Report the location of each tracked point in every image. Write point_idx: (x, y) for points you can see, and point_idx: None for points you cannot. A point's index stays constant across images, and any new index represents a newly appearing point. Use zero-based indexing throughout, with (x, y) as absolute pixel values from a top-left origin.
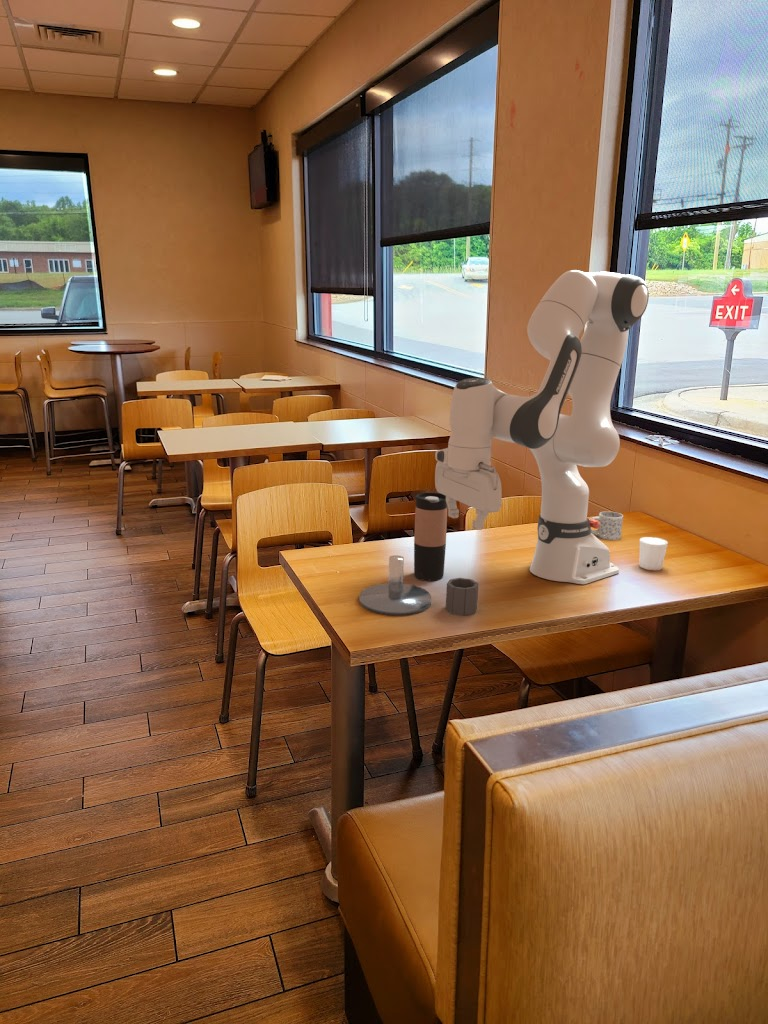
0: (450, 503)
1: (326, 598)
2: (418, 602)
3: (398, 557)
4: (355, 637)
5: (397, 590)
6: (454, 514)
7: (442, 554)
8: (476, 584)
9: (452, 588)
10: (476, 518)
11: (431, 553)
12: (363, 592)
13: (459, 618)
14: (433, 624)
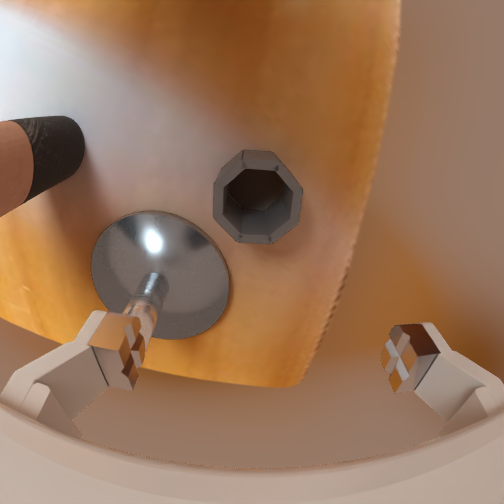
0: (74, 404)
1: None
2: (202, 265)
3: None
4: (265, 377)
5: (164, 299)
6: (132, 351)
7: (46, 137)
8: (285, 173)
9: (267, 242)
10: (433, 405)
11: (44, 175)
12: None
13: None
14: (289, 276)
